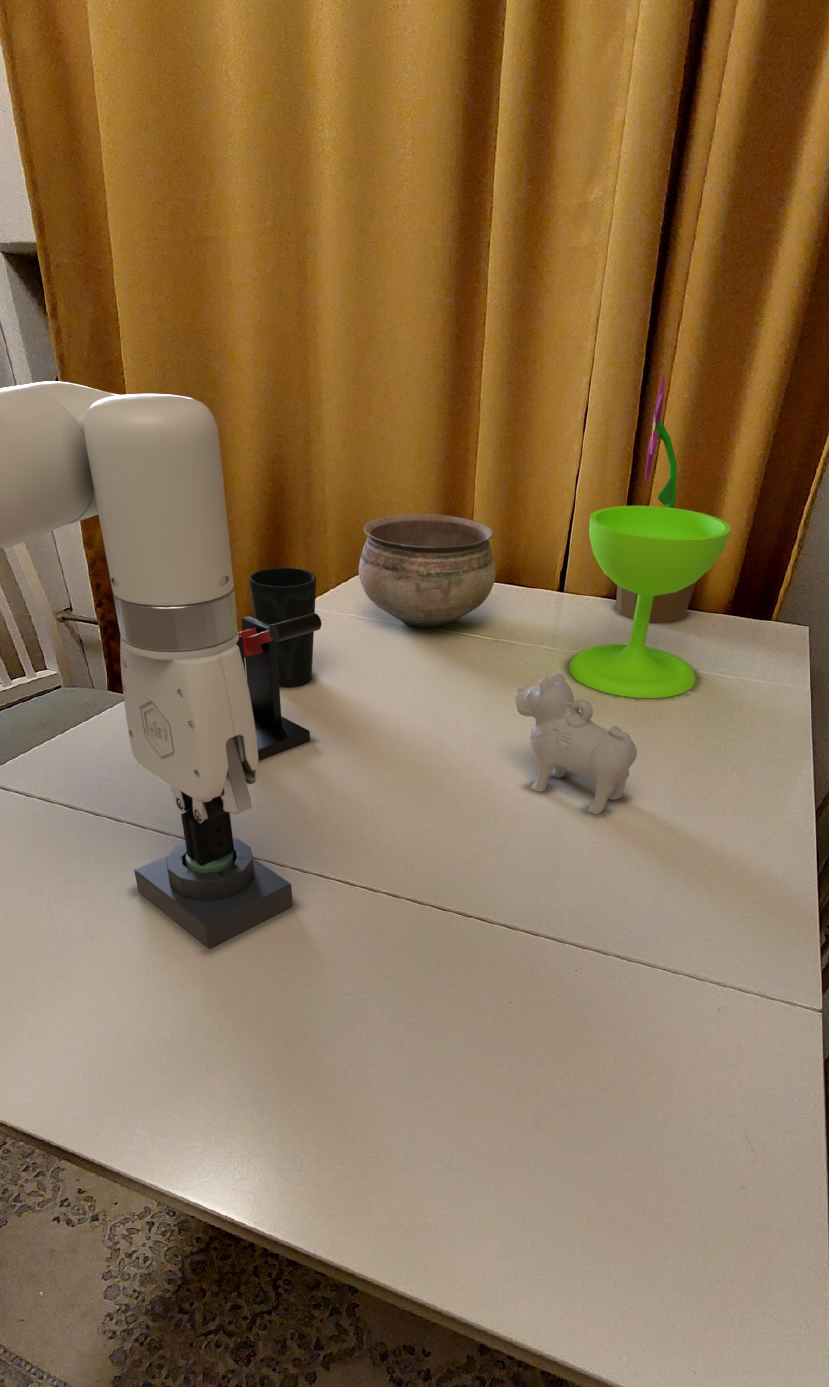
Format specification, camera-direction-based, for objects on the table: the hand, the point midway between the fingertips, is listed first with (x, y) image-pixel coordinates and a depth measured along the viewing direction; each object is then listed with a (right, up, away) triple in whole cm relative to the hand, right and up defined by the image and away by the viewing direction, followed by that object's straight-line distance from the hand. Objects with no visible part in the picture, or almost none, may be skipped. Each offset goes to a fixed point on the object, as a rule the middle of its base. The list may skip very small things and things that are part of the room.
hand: (211, 854), depth 68 cm
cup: (0, +24, +39) cm, 46 cm away
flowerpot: (+51, +41, +64) cm, 92 cm away
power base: (0, -3, +3) cm, 4 cm away
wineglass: (+43, +26, +44) cm, 67 cm away
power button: (0, -1, +1) cm, 2 cm away
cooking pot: (+17, +38, +58) cm, 71 cm away
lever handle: (+2, +21, +17) cm, 27 cm away
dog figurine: (+31, +8, +19) cm, 37 cm away
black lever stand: (-2, +15, +26) cm, 30 cm away
